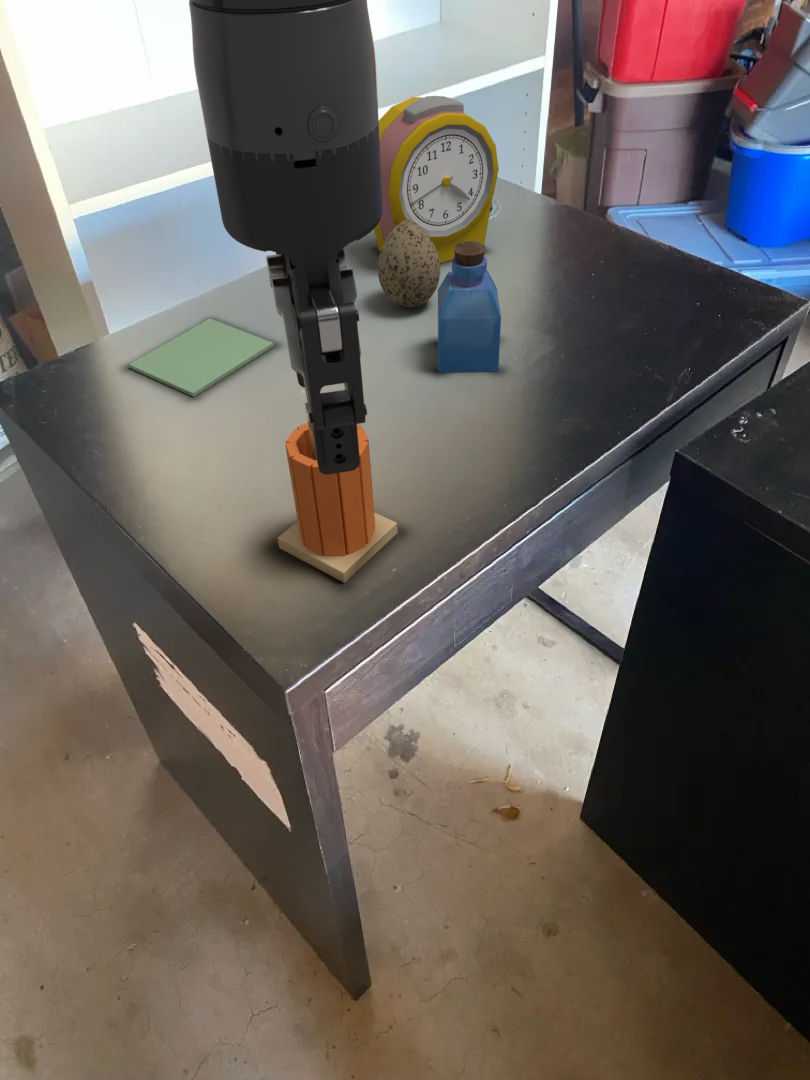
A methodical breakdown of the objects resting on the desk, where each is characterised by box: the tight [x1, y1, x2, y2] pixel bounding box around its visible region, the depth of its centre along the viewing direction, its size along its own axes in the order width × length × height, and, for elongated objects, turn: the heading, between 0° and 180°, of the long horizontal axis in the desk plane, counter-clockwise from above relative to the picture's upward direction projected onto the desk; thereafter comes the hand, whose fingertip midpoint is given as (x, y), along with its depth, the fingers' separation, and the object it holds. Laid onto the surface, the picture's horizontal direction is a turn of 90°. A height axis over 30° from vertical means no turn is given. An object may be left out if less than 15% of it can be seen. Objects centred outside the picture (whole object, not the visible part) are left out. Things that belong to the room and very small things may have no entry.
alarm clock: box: [373, 95, 500, 264], centre depth 101 cm, size 15×8×18 cm, turn 118°
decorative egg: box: [377, 220, 441, 308], centre depth 94 cm, size 7×7×10 cm
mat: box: [128, 318, 274, 398], centre depth 90 cm, size 12×10×1 cm
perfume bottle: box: [437, 241, 502, 374], centre depth 84 cm, size 6×6×12 cm
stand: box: [277, 413, 398, 584], centre depth 64 cm, size 7×7×12 cm
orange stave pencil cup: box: [284, 422, 375, 556], centre depth 64 cm, size 6×6×9 cm
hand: (327, 423), depth 47 cm, fingers open, 8 cm apart
